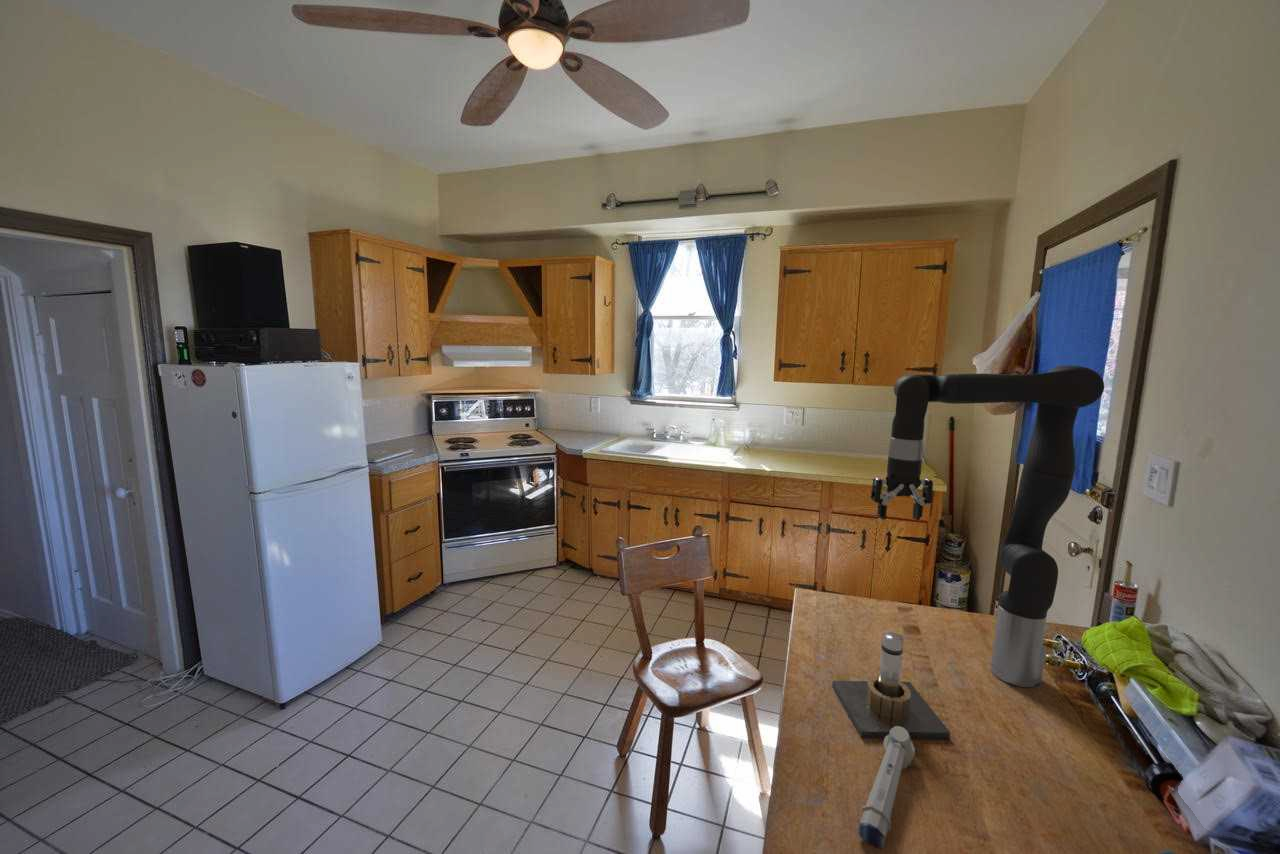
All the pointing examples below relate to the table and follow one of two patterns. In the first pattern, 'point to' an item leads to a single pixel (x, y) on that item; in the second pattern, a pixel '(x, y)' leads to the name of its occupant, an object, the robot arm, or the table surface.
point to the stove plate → (883, 724)
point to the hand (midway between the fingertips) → (899, 518)
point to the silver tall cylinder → (890, 664)
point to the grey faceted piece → (886, 787)
